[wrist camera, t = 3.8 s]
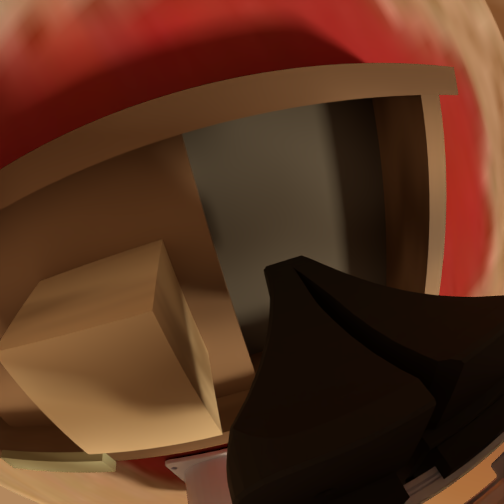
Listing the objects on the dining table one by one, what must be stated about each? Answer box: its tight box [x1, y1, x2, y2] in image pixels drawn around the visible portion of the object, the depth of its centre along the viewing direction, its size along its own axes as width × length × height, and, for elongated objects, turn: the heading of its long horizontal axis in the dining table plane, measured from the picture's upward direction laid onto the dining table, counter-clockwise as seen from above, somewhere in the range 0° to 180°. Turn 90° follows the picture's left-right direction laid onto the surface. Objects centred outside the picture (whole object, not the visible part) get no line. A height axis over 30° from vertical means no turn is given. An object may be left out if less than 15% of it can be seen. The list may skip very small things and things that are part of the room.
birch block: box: [0, 239, 223, 454], centre depth 8 cm, size 5×5×4 cm
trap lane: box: [0, 63, 458, 472], centre depth 10 cm, size 13×34×5 cm, turn 103°
